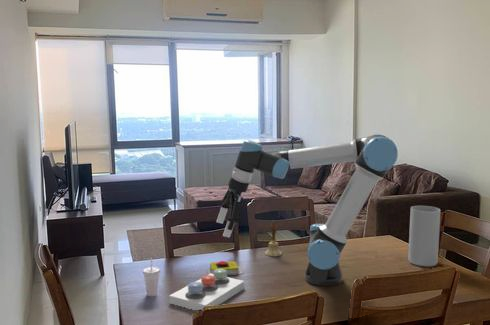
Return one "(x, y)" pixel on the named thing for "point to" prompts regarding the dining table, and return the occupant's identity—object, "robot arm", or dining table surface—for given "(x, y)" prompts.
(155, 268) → the smoothie
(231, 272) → the emergency button
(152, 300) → the dining table surface
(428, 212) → the cylinder vase
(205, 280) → the red button
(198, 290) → the slate-blue button
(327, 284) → the robot arm
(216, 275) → the sage-green button
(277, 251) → the hand bell
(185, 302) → the button panel
